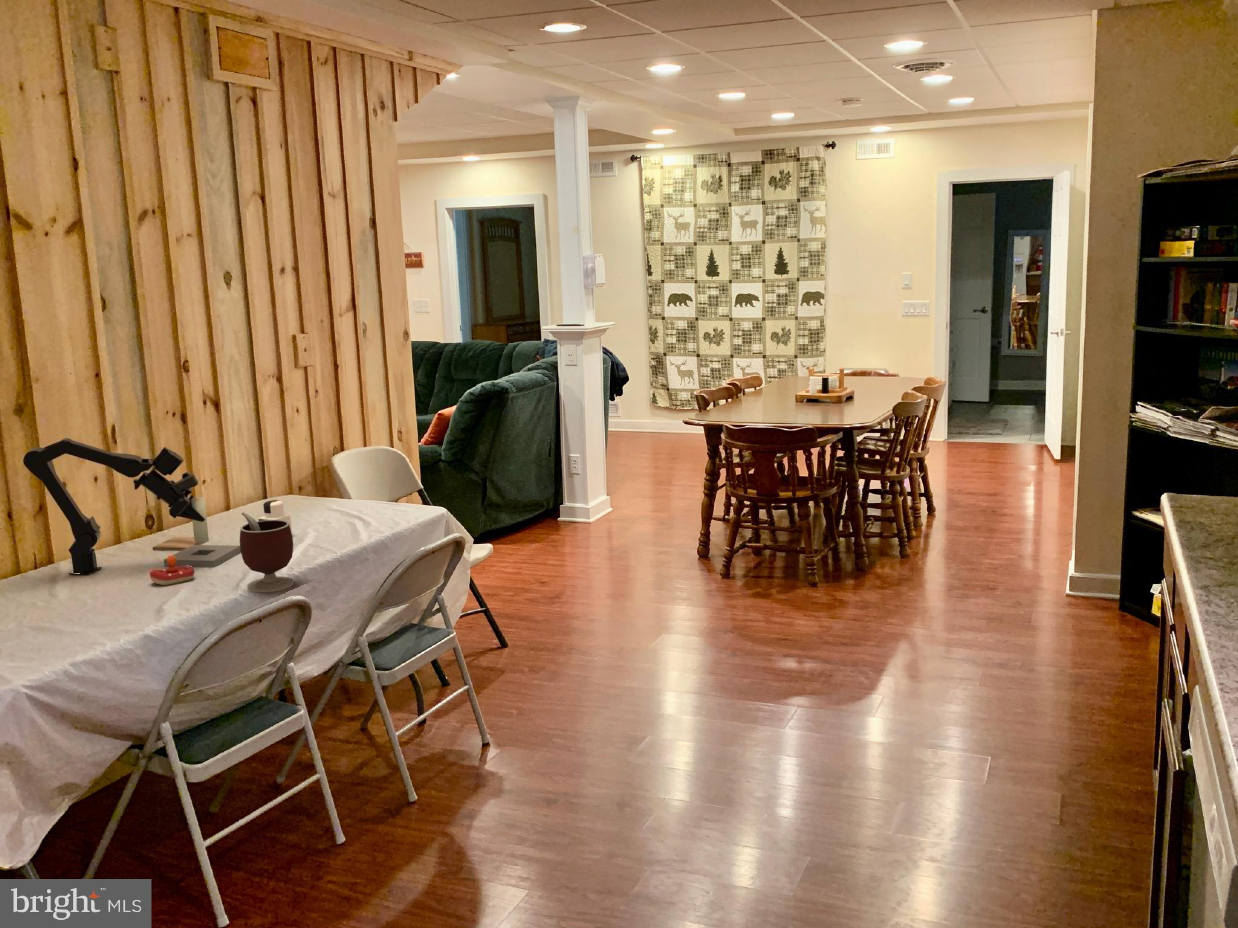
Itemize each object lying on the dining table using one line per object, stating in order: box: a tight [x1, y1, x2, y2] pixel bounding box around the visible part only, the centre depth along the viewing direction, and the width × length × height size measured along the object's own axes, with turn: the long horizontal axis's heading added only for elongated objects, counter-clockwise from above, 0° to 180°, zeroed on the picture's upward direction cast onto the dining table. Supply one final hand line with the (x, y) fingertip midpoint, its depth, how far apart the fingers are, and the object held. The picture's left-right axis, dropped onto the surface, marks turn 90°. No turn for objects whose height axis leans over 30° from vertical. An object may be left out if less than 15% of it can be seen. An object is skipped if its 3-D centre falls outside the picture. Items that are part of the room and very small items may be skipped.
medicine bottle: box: [258, 499, 293, 534], centre depth 346 cm, size 7×7×12 cm
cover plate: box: [163, 544, 241, 568], centre depth 325 cm, size 16×16×2 cm
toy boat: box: [149, 555, 196, 586], centre depth 303 cm, size 8×12×8 cm, turn 129°
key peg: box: [190, 496, 210, 543], centre depth 322 cm, size 4×4×13 cm
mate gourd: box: [239, 512, 295, 593], centre depth 295 cm, size 16×14×20 cm
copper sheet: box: [152, 536, 206, 552], centre depth 341 cm, size 12×12×1 cm
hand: (204, 519), depth 323 cm, fingers closed on key peg, 4 cm apart
